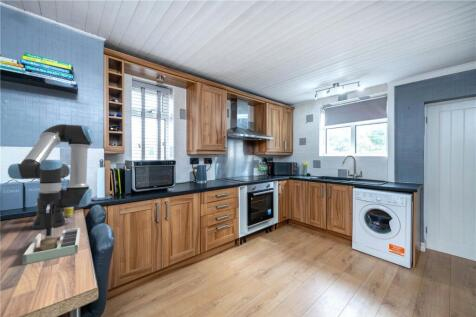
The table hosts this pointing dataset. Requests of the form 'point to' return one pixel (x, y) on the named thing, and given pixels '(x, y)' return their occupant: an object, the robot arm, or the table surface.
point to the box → (66, 247)
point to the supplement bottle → (68, 212)
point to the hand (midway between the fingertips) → (48, 242)
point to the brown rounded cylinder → (48, 244)
